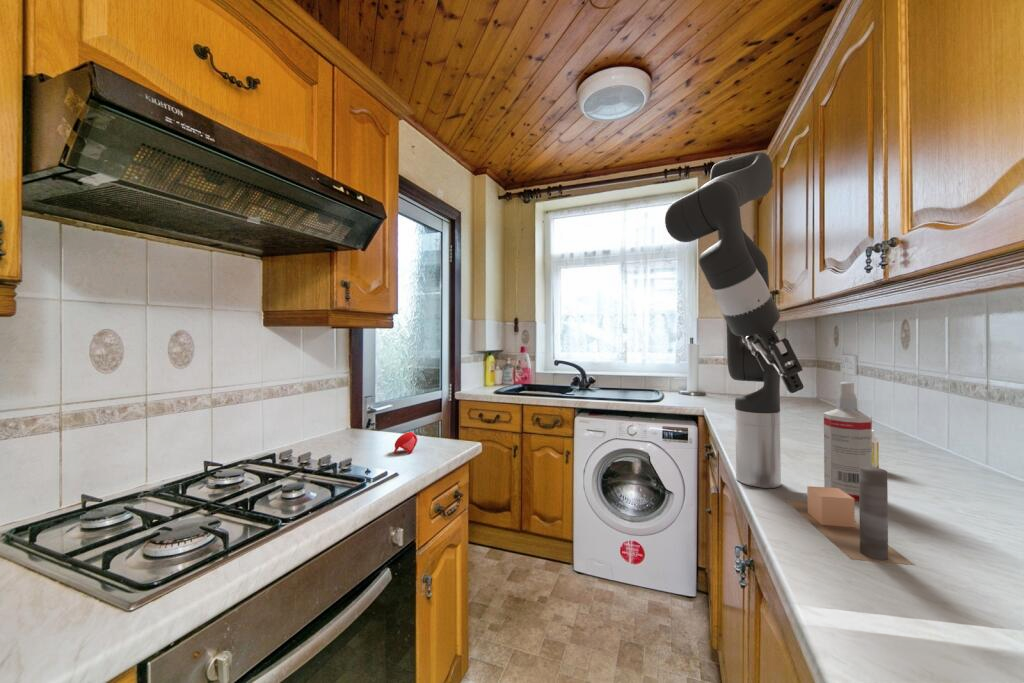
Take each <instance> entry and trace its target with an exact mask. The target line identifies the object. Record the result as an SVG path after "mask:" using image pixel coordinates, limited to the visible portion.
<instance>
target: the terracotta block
mask: <svg viewBox="0 0 1024 683" xmlns="http://www.w3.org/2000/svg"><path fill="white" fill-rule="evenodd" d="M806 487H807V491H806V492H807V502H808V513H809V514H810V515H811V516H812V517H813V518H815V519H816V520H817V521H818V522H819V523H820V524H822V525H832V526H845V527H855V520H856V519H855V517H856V516H855V515H856V514H855V501H854V498H853V497H851V496H850V495H848V494H846V493H845V492H843V491H842V490H840V489H839V488H829V487H824V486H813V485H810V486H808V485H807V486H806Z"/></svg>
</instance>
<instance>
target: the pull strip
mask: <svg viewBox="0 0 1024 683" xmlns="http://www.w3.org/2000/svg"><path fill="white" fill-rule="evenodd" d="M888 488H889V487H888V470H885V469H882V468H880V467H879V468H876V467H869V466H861V467H859V501H858V502H859V506H858V507H859V511H858V512H859V522H857V521H855V527H845V526H832V525H822V524H820V523H819V522H818V521H817V520H816V519H815V518H813V517H812V516H811V515H810V514H809V513H808V501H803V500H802V501H798V500H788V499H787V500H785V501H786V503H788V504H789V505H790V506H791V507H792V508H793V509H795V510H796V511H797V512H798V513H799V514H800V515H801V516H802V517H804V518H805V519H806V520H807V521H808V522H809V523H810V524H811V525H812V526H813V527H814V528H816V529H817V530H818V531H819V532H820V533H821V534H822V535H824V536H825V538H827V539H828V540H829V541H830V542H831V543H833V544H834V546H835V547H837V548H838V549H839V550H840V551H841V552H842V553H843V554H845V555H846V556H847V557H848V558H849V559H850V560H853V561H854V560H855V561H863V562H864V561H867V562H877V563H885V564H886V563H889V564H899V565H908V566H910V565H911V566H915V563H913V562H912V561H911V560H909V559H908V558H906V557H905V556H904V555H902V554H901V553H900V552H898V551H897V550H896V549H894V548H892V547H891V546H890V545H889V528H888V527H889V525H888V524H889V518H888V516H889V515H888V514H889V513H888V512H889V508H888V507H889V505H888V504H889V503H888V502H889V501H888V500H889V498H888V493H889V492H888Z"/></svg>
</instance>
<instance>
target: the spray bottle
mask: <svg viewBox="0 0 1024 683" xmlns="http://www.w3.org/2000/svg"><path fill="white" fill-rule="evenodd" d="M836 400H837V403H836V408H834V409H833V410H832V409H831V410H829V411H828V410H827V411H825V412H823V466H824V467H823V468H824V469H823V471H824V472H823V473H824V475H823V476H824V478H823V480H824V481H823V483H824V484H823V485H824V486H823V487H829V488H839V489H840V490H842V491H843V492H845V493H846V494H848V495H850V496H851V497H853V498H854V502H859V467H861V466H869V467H872V430H873V429H872V428H873V422H872V420H873V417H872V415H870V414H867V413H864V412H862V411H860V410H859V409H858V398H857V395H856V394H855V383H854V382H850V381H842V382H840V383H839V393H838V395H837V399H836Z"/></svg>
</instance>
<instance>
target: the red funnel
mask: <svg viewBox="0 0 1024 683" xmlns="http://www.w3.org/2000/svg"><path fill="white" fill-rule="evenodd" d="M417 443H418V437H417V435H416V434H415V433H414V432H412V431H409V432H404V433H403V434H401V435H400V436H399V437H397V439H396V440H395V443H394V451H393V454H396V452H398V450H399V448H400V449H403V450H404V451H406V452H408V453H409V454H412V453H413V451H414V449H415V447H416V445H417Z"/></svg>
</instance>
